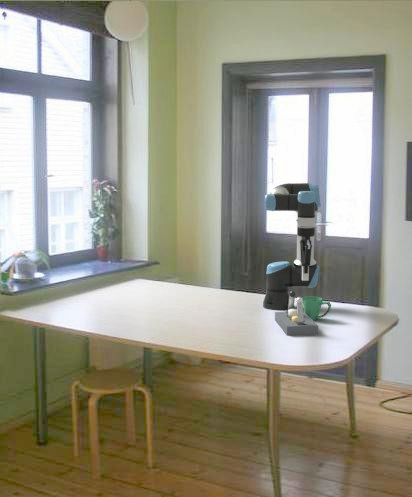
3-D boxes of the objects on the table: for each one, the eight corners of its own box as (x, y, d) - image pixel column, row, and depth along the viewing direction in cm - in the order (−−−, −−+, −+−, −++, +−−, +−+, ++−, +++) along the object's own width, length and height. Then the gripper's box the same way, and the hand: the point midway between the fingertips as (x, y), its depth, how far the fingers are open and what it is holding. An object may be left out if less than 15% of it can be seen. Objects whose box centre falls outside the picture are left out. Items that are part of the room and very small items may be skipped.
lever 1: (286, 309, 344) (288, 289, 338) (293, 309, 344) (295, 289, 339) (288, 312, 341) (290, 293, 336) (294, 312, 341) (296, 292, 336)
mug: (298, 319, 347) (298, 299, 345) (306, 315, 355) (307, 295, 353) (326, 323, 339) (326, 302, 337) (334, 319, 347) (335, 299, 345)
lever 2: (296, 322, 323) (295, 297, 325) (303, 321, 323) (301, 297, 325) (298, 321, 320) (296, 296, 322) (304, 321, 320) (303, 296, 322)
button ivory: (287, 317, 339) (287, 309, 338) (297, 317, 339) (297, 308, 338) (289, 319, 334) (289, 311, 333) (300, 319, 334) (300, 311, 334)
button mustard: (290, 324, 331) (290, 316, 331) (301, 324, 332) (301, 315, 331) (292, 327, 326) (292, 318, 326) (303, 326, 327) (303, 318, 326)
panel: (274, 320, 345) (274, 311, 345) (303, 319, 347) (303, 310, 346) (286, 335, 318) (287, 325, 317) (318, 334, 319) (318, 325, 319)
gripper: (294, 225, 318) (293, 277, 322) (300, 228, 306) (299, 283, 309) (311, 225, 319) (310, 277, 323) (318, 228, 306) (317, 283, 310)
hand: (305, 280), depth 316 cm, fingers closed
